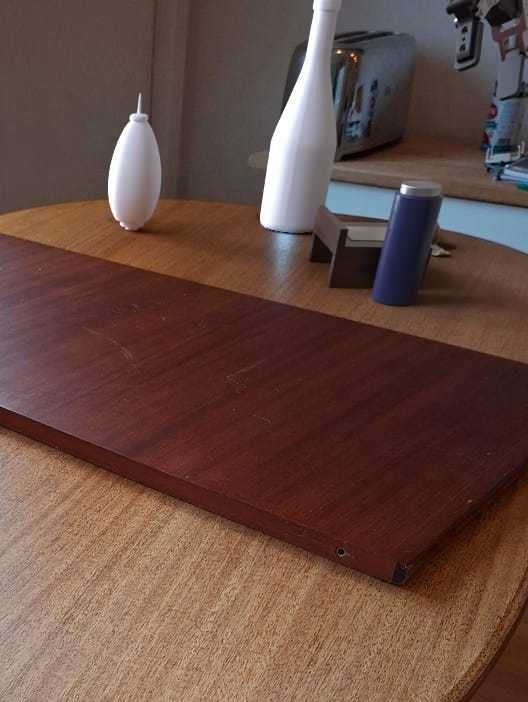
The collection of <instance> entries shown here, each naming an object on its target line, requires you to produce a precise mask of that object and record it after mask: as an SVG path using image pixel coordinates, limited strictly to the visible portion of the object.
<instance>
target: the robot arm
mask: <svg viewBox="0 0 528 702" xmlns="http://www.w3.org/2000/svg"><path fill="white" fill-rule="evenodd" d="M445 12H446V14H447V15H448V16H451V15H454V20H453V21H454V27H455V29H456V30H457V38H456V47H455V54H454V55H455V57H454V65H453V66H454V69H455V70H456V71H458V72H459V73H462V72H465V71H468V70H470V69H473V68H475V67H477V66H478V65H479V63H480V62H481V54H482V45H483V35H484V30H485V29H484V27H485V23H484V22H482V20H485V21H486V22H487V23H488V25H489V27H490V33H491V37H492V40H493V42H495V43H498V48H499V53H500V54H499V55H500V60H501V61H500V62H499V70H498V77H497V88H496V95H495V96H496V99H498V100H499V101H500V102H504V101H508V100H511V99H514V98H517V97H519V95H520V94H521V92H522V88H523V87H522V86H523V79H524V71H525V61H526V60H528V0H446V2H445ZM511 21H512V23H513V24H512V25H509V26H503V25H504V24H508V23H509V22H511ZM510 37H511V44H510V39H509V38H510Z"/></svg>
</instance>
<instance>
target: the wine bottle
mask: <svg viewBox="0 0 528 702" xmlns="http://www.w3.org/2000/svg"><path fill="white" fill-rule="evenodd" d="M342 1H343V0H313V5H312V9H313V10H314V11H313V17H312V21H311V27H310V31H309V37H308V42H307V49H306V54H305V59H304V62H303V66H302V68H301V71H300V72H299V73H300V74H299V76H298V78H297V81H296V83H295V85H294V87H293V89H292V92H291V94H290V96H289V99H288V100H287V103H286V106H285V107H284V110H283V112H282V114H281V116H280V119H279V121H278V122H277V125H276V128H275V130H274V132H273V135H272V138H271V140H270V147H269V155H268V160H267V167H266V175H265V181H264V188H263V195H262V201H261V207H260V208H261V209H260V214H259V221H260V224H261V226H262V227H263V226H264V227H263V228H265V229H267V228H268V229H267V230H269V229H271V230H270V231H272V230H275V231H274V232H277V231H281V232H280V233H283V232H289V233H288V234H306V233H305V232H308V233H312V232H311V231H313V229H314V224H315V218H316V213H317V208H318V205H320V206H326V203H327V197H328V193H329V189H330V188H329V187H330V182H331V176H332V172H333V166H334V161H335V157H336V156H335V155H336V150H337V145H338V144H337V143H338V137H337V124H336V115H335V107H334V106H335V105H334V97H333V87H332V86H333V85H332V76H331V60H332V59H331V58H332V51H333V46H334V39H335V34H336V33H335V32H336V28H337V27H336V26H337V20H338V12H339V11H340V10H341V6H342Z"/></svg>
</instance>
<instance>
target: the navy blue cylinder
mask: <svg viewBox="0 0 528 702" xmlns="http://www.w3.org/2000/svg"><path fill="white" fill-rule="evenodd" d="M442 187H443V186H442V184H440V183H437V182H433V181H429V180H405V181H403V182H401V185H400V189H397V190H396V191H395V192H394V196H393V200H392V205H391V208H390V212H389V217H388V221H387V223H388V225H387V230H386V234H385V238H384V243H383V247H382V251H381V255H380V260H379V264H378V268H377V272H376V277H375V281H374V285H373V288H372V290H371V293H370V298H371V300H373V301H374V302H376V303H378V304H381V305H385V306H393V307H407V306H412V305H415V304H416V302H417V300H418V295H419V292H420V289H419V288H420V284H421V280H422V277H423V273H424V269H425V265H426V262H427V258H428V254H429V250H430V247H431V243H432V239H433V235H434V232H435V228H436V224H437V223H438V219H439V216H440V213H441V209H442V206H443V202H444V197H445V196H444V194H443V193H441V191H442V189H443V188H442Z"/></svg>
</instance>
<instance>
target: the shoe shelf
mask: <svg viewBox="0 0 528 702" xmlns="http://www.w3.org/2000/svg"><path fill="white" fill-rule="evenodd" d="M387 225H388V222H373V221H371V222H370V221H369V222H368V221H366V222H365V221H363V222H362V221H341V220H340V219H339V218H338V217H337V216H336V215H335V214H334V213H333V212H332V211H331V210H330V209H329V208H328V207H327V206H326V205H325V206H320V205H318V208H317V213H316V218H315V224H314V229H313V232H312V235H311V239H310V240H311V241H310V246H309V251H308V256H307V260H308V262H309V263H330V266H329V271H328V276H327V283H326V285H327V287H328V288H340V289H341V288H343V289H373V285H374V281H375V277H376V272H377V268H378V264H379V260H380V255H381V251H382V247H383V243H384V238H385V234H386V230H387ZM432 250H433V248H432V247H430V250H429V254H428V258H427V262H426V265H425V269H424V273H423V277H422V280H421V284H420V288H419V290H423V287H424V283H425V279H426V275H427V272H428V268H429V264H430V260H431V258H432V257H431V256H432V254H431V253H432Z"/></svg>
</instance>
